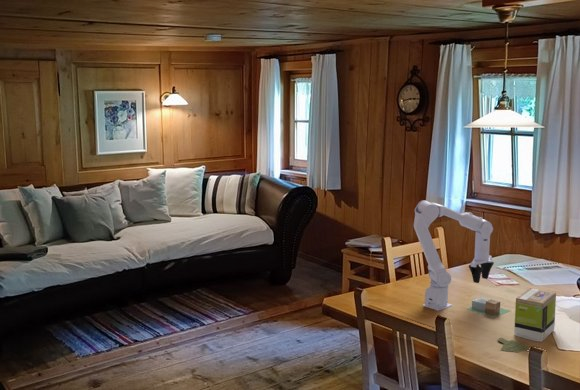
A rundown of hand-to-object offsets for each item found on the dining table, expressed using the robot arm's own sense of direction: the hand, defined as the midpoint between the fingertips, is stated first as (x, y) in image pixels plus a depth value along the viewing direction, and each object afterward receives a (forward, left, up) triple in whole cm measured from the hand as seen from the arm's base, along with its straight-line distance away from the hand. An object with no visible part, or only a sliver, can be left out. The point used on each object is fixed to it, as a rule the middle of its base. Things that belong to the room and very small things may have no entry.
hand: (480, 280), depth 263 cm
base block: (-4, -4, -10) cm, 11 cm away
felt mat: (-5, -7, -10) cm, 13 cm away
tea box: (-13, -32, -10) cm, 36 cm away
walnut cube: (-7, -11, -10) cm, 16 cm away
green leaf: (-31, -36, -11) cm, 49 cm away
